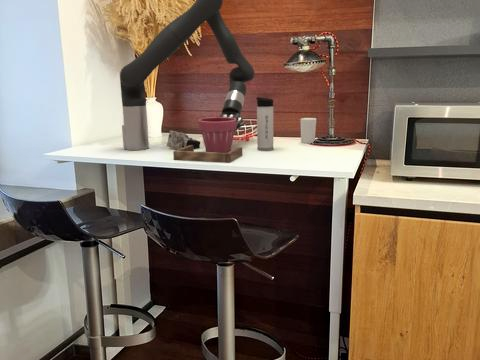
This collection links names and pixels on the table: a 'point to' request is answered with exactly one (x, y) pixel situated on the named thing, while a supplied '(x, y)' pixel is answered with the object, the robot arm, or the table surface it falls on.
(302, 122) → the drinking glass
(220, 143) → the plant pot
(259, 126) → the travel mug
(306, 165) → the table surface
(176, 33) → the robot arm
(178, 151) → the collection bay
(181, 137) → the caster wheel
